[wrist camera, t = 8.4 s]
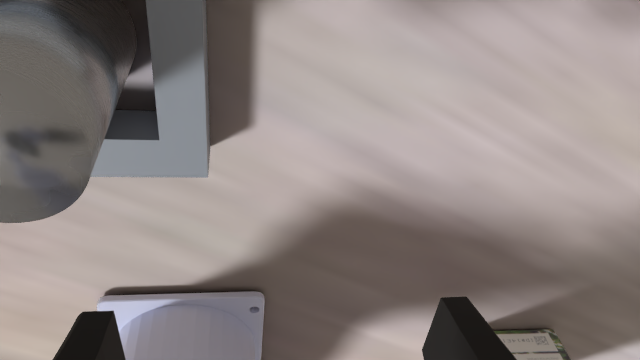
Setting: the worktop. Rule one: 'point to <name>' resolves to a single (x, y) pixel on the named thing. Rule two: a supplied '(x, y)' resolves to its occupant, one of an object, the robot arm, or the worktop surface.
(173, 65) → the jig
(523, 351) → the syrup box
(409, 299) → the worktop surface
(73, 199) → the cylinder
